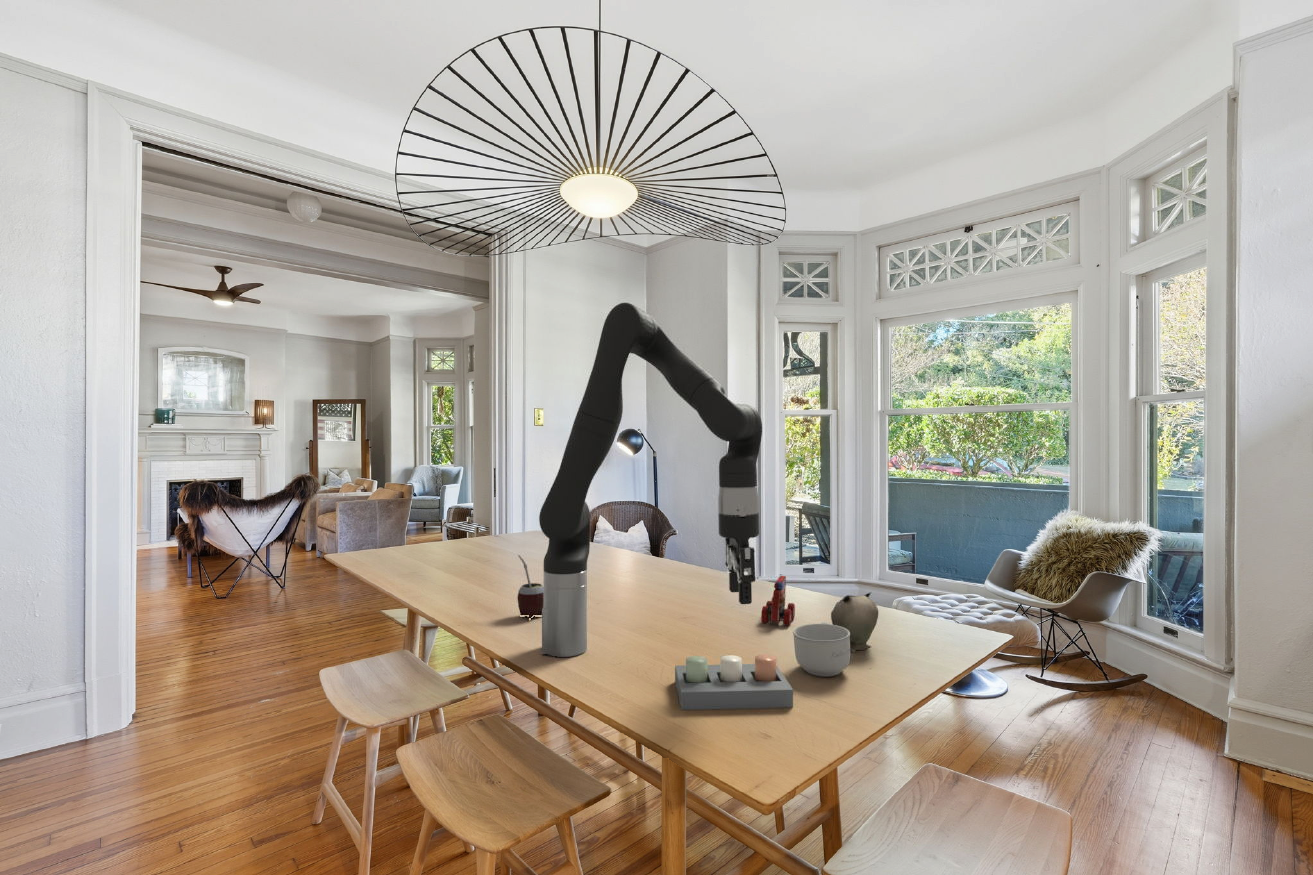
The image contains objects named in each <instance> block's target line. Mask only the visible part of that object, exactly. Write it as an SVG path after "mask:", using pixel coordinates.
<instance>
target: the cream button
mask: <svg viewBox="0 0 1313 875" xmlns="http://www.w3.org/2000/svg"><path fill="white" fill-rule="evenodd" d="M719 662H720V664H719V665H720V682H742V664H743V659H742V658H741V657H740V656H738V655H731V654H730V655H723V656H721V657H720V661H719Z"/></svg>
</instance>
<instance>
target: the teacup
mask: <svg viewBox="0 0 1313 875" xmlns="http://www.w3.org/2000/svg"><path fill="white" fill-rule="evenodd" d="M792 634H793V645H794V654H795V659H796V662H797V664H798V665H799V666H800V668H802V669H803V670H805V672H807V673H808V674H809V675H813V676H816V677H824V678H825V677H834V676H837V675H840V674H841V673H842V671H844V670H846V668H847V667H848V666H849V664H850V660H851V652H850V632H849V630H847V629H846V628H844V627H841V626H837V625H833V624H830V623H829V622H828V621H822V622H821V623H809V624H803V625H799V626H797V627H795V628H793V630H792Z"/></svg>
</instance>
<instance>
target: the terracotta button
mask: <svg viewBox="0 0 1313 875" xmlns="http://www.w3.org/2000/svg"><path fill="white" fill-rule="evenodd" d="M754 664H755V681H756V682H764V681H776V665H777V658H776V656H773V655H770V654H757V655H755V656H754Z"/></svg>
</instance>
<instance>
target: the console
mask: <svg viewBox="0 0 1313 875" xmlns="http://www.w3.org/2000/svg"><path fill="white" fill-rule="evenodd" d="M674 671H675V672H674V681H675V687H676V691H677V696H678V701H679V705H680V710H681V711H696V710H697V711H701V710H702V711H703V710H704V711H705V710H741V709H743V710H744V709H775V708H780V709H781V708H793V707H794V689H793V687H792V686H791V685H790V683H789V681H788V680H787V678H786V677H785V675H784V674H783V673H782V671H781V669H780V668H779V666H778V665H777V664H776V681H764V682H756V681H755V663H742V682H720V664H707V683H686V664H683V665H682V664H681V665H680V664H679V665H674Z"/></svg>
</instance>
